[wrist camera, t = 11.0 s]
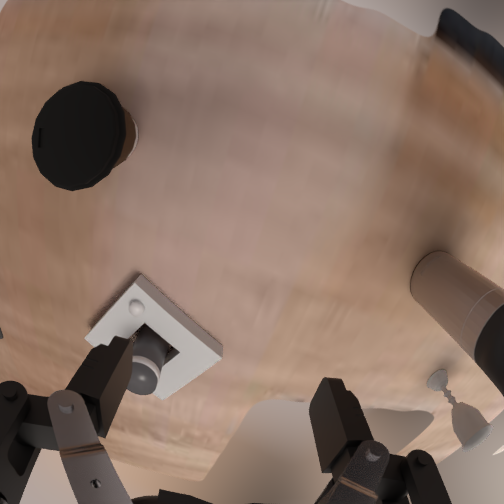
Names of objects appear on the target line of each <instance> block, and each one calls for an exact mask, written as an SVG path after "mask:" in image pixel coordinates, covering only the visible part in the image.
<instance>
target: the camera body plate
mask: <svg viewBox="0 0 504 504" xmlns="http://www.w3.org/2000/svg"><path fill="white" fill-rule="evenodd" d="M144 323H146V324H147V325H148V326H149V327H150V328H152V329H153V330H154V331H155V332H156V333H157V334H159V335H160V336H161V337H162V338H163V339H165V340H166V341H167V342H168V343H169V344H171V345H172V346H173V347H174V349H173V350H171V351H170V352H169V353H168V354H167V355H166V358H165V361H164V364H163V367H162V370H161V373H160V379H159V383H158V385H157V387H156V389H155V391H154V392H153V394H154V395H156V396H157V397H158V398H160V399H161V400H164V399H166V398H167V397H169V396H170V395H172V394H173V393H175V392H176V391H177V390H179V389H180V388H182V387H183V386H185V385H186V384H187V383H189V382H190V381H192V380H193V379H195V378H196V377H197V376H199V375H200V374H202V373H203V372H204V371H206V370H207V369H208V368H210V367H211V366H213V365H214V364H215V363H217V362H218V361H219V360H221V359H222V355H223V346H222V345H221V344H220V343H219V342H217V341H216V340H215V339H214V338H213V337H211V336H210V335H209V334H208V333H207V332H206V331H204V330H203V329H202V328H201V327H200V326H198V325H197V324H196V323H195V322H194V321H193V320H192V319H190V318H189V317H188V316H187V315H186V314H185V313H184V312H182V311H181V310H180V309H179V308H178V307H177V306H176V305H174V304H173V303H172V302H171V301H170V300H169V299H168V298H167V297H166V296H165V295H163V294H162V293H161V292H160V291H159V290H158V289H157V288H156V287H155V286H154V285H153V284H152V283H150V282H149V281H148V280H147V279H146V278H145V277H144V276H143V275H142V274H141V275H140V276H139V277H138V278H137V279H136V280H135V281H134V282H133V283H132V284H131V285H130V286H129V287H128V289H127V290H126V291H125V292H124V293H123V294H122V295H121V296H120V297H119V298H118V299H117V301H116V302H115V303H114V304H113V305H112V306H111V307H110V308H109V309H108V310H107V312H106V313H105V314H104V315H103V316H102V317H101V318H100V319H99V321H98V322H97V323H96V324H95V325H94V326H93V327H92V329H91V330H90V331H89V333H88V334H87V336H86V337H85V339H86V340H87V341H88V342H89V343H90V344H91V345H92V346H94V347H96V346H98V345H100V344H104V345H107V346H108V345H109V344H110V342H111V340H112V339H113V337H114V336H119V337H122V338H126V339H129V337H130V336H131V335H132V334H133V333H134V332H135V331H136V330H137V329H139V328H140V327H141V326H142V325H143V324H144ZM129 340H130V339H129ZM133 344H134V343H133Z"/></svg>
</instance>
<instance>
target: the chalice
mask: <svg viewBox="0 0 504 504" xmlns="http://www.w3.org/2000/svg"><path fill="white" fill-rule="evenodd" d="M447 383H448V378H447V372H446V370H439V371H437V372H435V373H434V374H433V375H432V376H431V377H430V378H429V380H428V381H427V387H428V388H431V389H432V390H434V391H441V390H442V391H443V392H444V397H447V398H448V400H449V401H448V402H449V403H451V404H452V405H453V409H452V424H453V429H454V432H455V434H456V435H457V437H458V439H459V440H460V442H461V443H462V447H463V448H462V449H463V450H462V451H464V452H467V451H470V450H472V449H474V448H475V447H477V446H478V445H480V444H481V443H482V442H483V441H484V440H485V439H486V438H487V437H488V436H489V435H490V433H491V432H492V430H493V425H492V424H489V423H487V421H486V420H485V418H484V417H483V416H482V414H481V413H480V412H479V410H478V409H476V408H474V407H472V406H470V405H468V404H465V403H463V402H460V403H457V402H456V401H455V397H453V396H452V395H451V391H450V390H447V389H446V385H447Z"/></svg>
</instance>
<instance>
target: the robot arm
mask: <svg viewBox="0 0 504 504" xmlns="http://www.w3.org/2000/svg"><path fill="white" fill-rule="evenodd" d="M411 293H412V296H413V298H414V299H415V300H416V301H417V302H418V303H419V304H420V305H421V306H422V307H423V308H424V309H425V310H426V311H427V312H428V313H429V314H430V315H431V316H432V317H433V318H434V319H435V320H436V321H437V322H438V323H439V324H440V325H441V327H442V328H443V329H444V330H445V331H446V332H447V333H448V334H449V335H450V336H451V337H452V338H453V339H454V340H455V341H456V342H457V343H458V344H459V345H460V346H461V347H462V348H463V350H465V351H466V353H467V354H468V355H469V356H470V357H471V358H472V359H473V360H474V361H475V362H476V363H477V365H478V366H479V367H480V368H481V369H482V370H483V371H484V372H485V374H486V375H487V376H488V377H489V379H490V380H491V381H492V382H493V383H494V385H495V386H496V387H497V388H498V389H499V391H500V392H501V393H502V395H503V396H504V289H503V288H501V287H500V286H498V285H497V284H495V283H494V282H492V281H491V280H489V279H488V278H486V277H485V276H483V275H482V274H480V273H478V272H477V271H475V270H474V269H472V268H471V267H469V266H467V265H466V264H464V263H463V262H461V261H459V260H458V259H456V258H454V257H453V256H451V255H449V254H448V253H446V252H443V251H436V252H433V253H431V254H429V255H427V256H426V257H425V258H423V259H422V260H421V262H420V263H419V264H418V265H417V267H416V269H415V271H414V273H413V275H412V279H411ZM132 361H133V341H132V340H129V339H126V338H122V337H119V336H114V337H113V339H112V340H111V342H110V344H109V345H108V346H107V345H104V344H100V345H98V346H96V347H95V348H93V349H91V351H90V352H89V354H88V355H87V357H86V359H85V360H84V361H83V363H82V366H80V367H79V369H78V370H77V372H76V373H75V375H74V376H73V378H72V380H71V381H70V383H69V384H68V386H67V387H66V389H65V390H59V391H56V392H54V393H53V394H51V396H50V397H43V396H37V395H31V394H27V391H26V389H25V387H24V386H23V385H22V384H20V383H18V382H16V381H5V382H2V383H0V504H19V503H20V500H21V497H22V495H23V492H24V489H25V487H26V484H27V482H28V479H29V477H30V474H31V472H32V469H33V467H34V465H35V462H36V460H37V457H38V455H39V453H40V451H41V449H42V448H43V449H49V450H57V451H60V456H61V460H62V462H63V465H64V468H65V471H66V474H67V477H68V479H69V482H70V485H71V487H72V490H73V492H74V495H75V497H76V499H77V502H78V504H212V503H209V502H206V501H204V500H201V499H198V498H195V497H193V496H190V495H185V494H180V493H175V492H170V491H166V490H161V489H160V490H159V495H158V496H143V497H138V498H134V499H130V497H129V495H128V494H127V492H126V490H125V488H124V486H123V484H122V482H121V481H120V479H119V477H118V475H117V473H116V471H115V469H114V467H113V464H112V462H111V460H110V458H109V456H108V454H107V452H106V450H105V448H104V446H103V445H101V443H100V441H99V438H98V436H100V437H103V438H106V435H107V433H108V431H109V428H110V426H111V423H112V421H113V419H114V416H115V414H116V411H117V409H118V407H119V404H120V402H121V400H122V397H123V395H124V393H125V391H126V388H127V386H128V384H129V381H130V378H131V374H132ZM309 415H310V420H311V424H312V429H313V433H314V438H315V443H316V447H317V452H318V456H319V461H320V466H321V471H322V473H332V476H333V478H332V479H331V480H330V481H329V483H328V484H327V486H326V487H325V489H324V490H323V492H322V493H321V495H320V496H319V497H318V499H317V500H316V502H315V503H314V504H409V500H408V498H407V494H409V496H410V499H411V502H412V504H452V503H451V501H450V498H449V496H448V493H447V490H446V488H445V486H444V483H443V481H442V478H441V476H440V474H439V471H438V469H437V466H436V464H435V462H434V459H433V458H432V456H431V455H430V454H428V453H427V452H425V451H423V450H413V451H411V452H410V453H409V454H408V455H407V456H406V457H404V456H399V455H393V454H389V451H388V449H387V448H386V447H385V446H384V445H383V444H382V443H380V442H377V441H374V439H373V436H372V434H371V431H370V429H369V426H368V423H367V421H366V418H365V417H364V414H363V411H362V409H361V406H360V403H359V401H358V399H357V398H356V396H355V395H354V394H353V393H352V392H351V391H347V390H346V388H345V386H344V383H343V381H342V379H338V378H327V377H324V378H323V379H322V381H321V383H320V385H319V387H318V389H317V391H316V393H315V395H314V397H313V399H312V401H311V403H310V408H309ZM251 504H261V503H251Z"/></svg>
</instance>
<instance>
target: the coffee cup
mask: <svg viewBox="0 0 504 504" xmlns="http://www.w3.org/2000/svg"><path fill="white" fill-rule="evenodd" d="M137 141H138V127H137V125H136V123H135V121H134V120H133V118H132V117H131V115H130V113H129V112H127V111H126V110H125V109H124V108H123V107H122V106H121V104H120V102H119V100H118V98H117V96H116V95H115V94H114V93H113V92H111V91H110V90H109V89H107V88H106V87H104V86H103V85H101V84H99V83H93V82H84V81H80V82H77V83H74V84H71V85H68V86H66V87H63V88H62V89H60V90H59V91H58V92H56V93H55V94H54V95H53V96H52V97H51V98H50V99H49V100H48V101H46V102H45V104H44V106H43V108H42V109H41V111H40V113H39V115H38V116H37V118H36V121H35V125H34V130H33V134H32V149H33V158H34V160H35V162H36V164H37V166H38V169H39V171H40V173H41V174H42V175H43V176H44V177H45V178H47V179H48V180H49V181H50V182H51V183H52V184H53V185H54V186H56V187H59V188H62V189H66V190H70V191H75V190H80V189H84V188H89V187H93V186H94V185H95V184H97V183H98V182H99V181H101V180H102V179H103V178H105V177H106V176H108V175H109V173H110V172H111V170H112V169H113V168H115V167H116V166H117V165H119V164H120V163H122V162H123V161H125V160H126V158H128V157H129V156H130V155H131V153H132V152H133V151H134V149H135V148H136V144H137Z"/></svg>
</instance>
